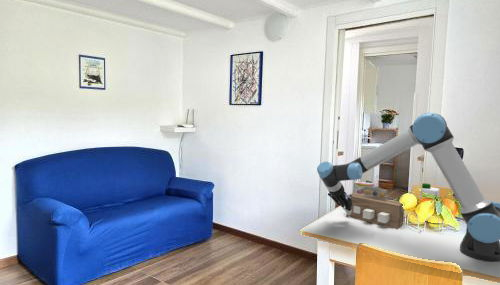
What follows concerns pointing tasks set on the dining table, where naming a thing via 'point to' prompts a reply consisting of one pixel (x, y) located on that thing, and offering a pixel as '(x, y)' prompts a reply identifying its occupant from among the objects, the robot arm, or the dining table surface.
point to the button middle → (369, 213)
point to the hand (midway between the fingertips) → (349, 213)
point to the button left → (357, 209)
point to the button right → (384, 217)
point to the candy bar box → (361, 187)
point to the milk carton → (429, 190)
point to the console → (378, 206)
